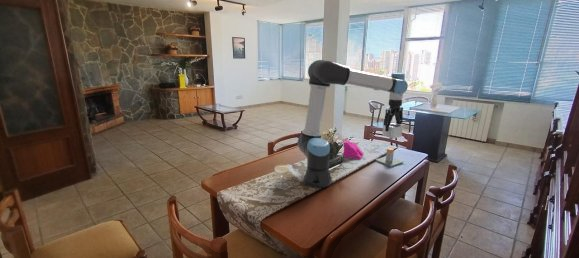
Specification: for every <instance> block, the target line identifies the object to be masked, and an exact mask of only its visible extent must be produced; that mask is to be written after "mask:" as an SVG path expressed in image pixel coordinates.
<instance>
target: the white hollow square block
mask: <svg viewBox="0 0 579 258" xmlns="http://www.w3.org/2000/svg"><path fill="white" fill-rule="evenodd" d="M382 125H383V124H382ZM390 126H391V127H390V136H389V137H388V136H385V132H386V131H385V129H386V126H385V125H383V126H382V136H383V137H387V138H389V139H392V140H393V139H398V138H401V137H402V135H403V125H402V124H400V125H398V124H395V123H393V122H391V123H390Z"/></svg>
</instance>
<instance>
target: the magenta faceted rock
mask: <svg viewBox="0 0 579 258" xmlns="http://www.w3.org/2000/svg"><path fill="white" fill-rule="evenodd" d="M364 155H365V154H364V152H363V151H362V150H361V148H359V146H358V145H357V144H356V143H355V142H351V141H350V140H344V141H343V153H342V157H343V156H344V157H345V158H348V157H349V158H348V159H355V158H356V159H357V160H362V159H363V158H362V157H363V156H364ZM356 159H355V160H356Z"/></svg>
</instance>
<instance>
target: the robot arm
mask: <svg viewBox="0 0 579 258" xmlns="http://www.w3.org/2000/svg"><path fill="white" fill-rule="evenodd" d="M307 69H308V70H307V75H308V79H309V80H308V85H309V87H310V92H309V98H308V106H307V112H306V117H305V118H306V119H305V124H304V129H302V131H301V134H300V136H299V137H298V138H297V146H298V149H299V150H300V152H301V153H303V155H304V156H305V157H307V158H306V159H307V160H306V161H307V162H306V164H307V168H306V170H305V173H304V176H303V184H305V185H306V184H307V185H306V186H308V185H309V186H308V187H310V186H312V187H311V188H314V187H322V188H321V189H324V188H327V187H329V186H330V185H331V184H332V176H331V171H330V151H331V146H330V143H329V141H328V140H326V139H325V138H322V135H323V133H322V132H321V126H322V125H321V124H322V117H323V113H324V112H323V111H324V106H325V101H326V94H327V90H328V89H329V88H330V87H331V85H339V86H346V85H352V86H356V87H362V88H368V89H372V90H374V91H382V92H383V91H384V92H388V93H389V96H388V106H389V108H388V109H387V108H386V109H385V114H384V119H383V124H382V125H385V126H386V129H385V131H386V132H385V136H384V137H386V136H388V137H387V138H389V136H390V127H391V126H390V123H392V121H393V117H395V118H394V119H395V123H394V124H398V125H402V124H403V119H404V117H403V113H404V107H402V105H403V97H404V96H403V95H404V93H406V92H407V90H408V87H409V84H408V82H407V81H406V75H405V73H403V72H391V75H390V76H386V75H380V74H375V73H371V72H366V71H361V70H356V69H352V68H350V67H349V66H348V65H345V64H344V65H343V64H340V63H337V62H334V61H332V60H325V59H317V60H314V61H313V62H311V63H310V64H309V66H308V68H307Z"/></svg>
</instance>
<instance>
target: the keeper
mask: <svg viewBox="0 0 579 258" xmlns="http://www.w3.org/2000/svg"><path fill="white" fill-rule="evenodd" d="M394 153H395V149H394V148H391V147H389V148H387V149H386V155H385V156H383V157H378V158H376V159H375V160H374V161H375V162H377V163H380V164H382V165H384V166H386V167H389V168H393V167H396V166H400V165H402V164H404V161H402V160H399V159H397V158H394Z"/></svg>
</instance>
